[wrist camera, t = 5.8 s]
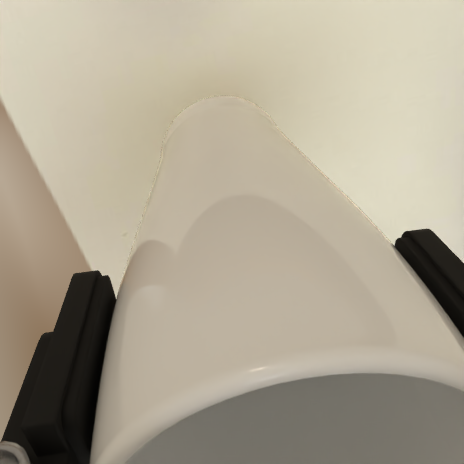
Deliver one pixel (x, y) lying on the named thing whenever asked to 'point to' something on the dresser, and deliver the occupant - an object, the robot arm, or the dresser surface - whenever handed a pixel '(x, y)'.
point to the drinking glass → (270, 317)
